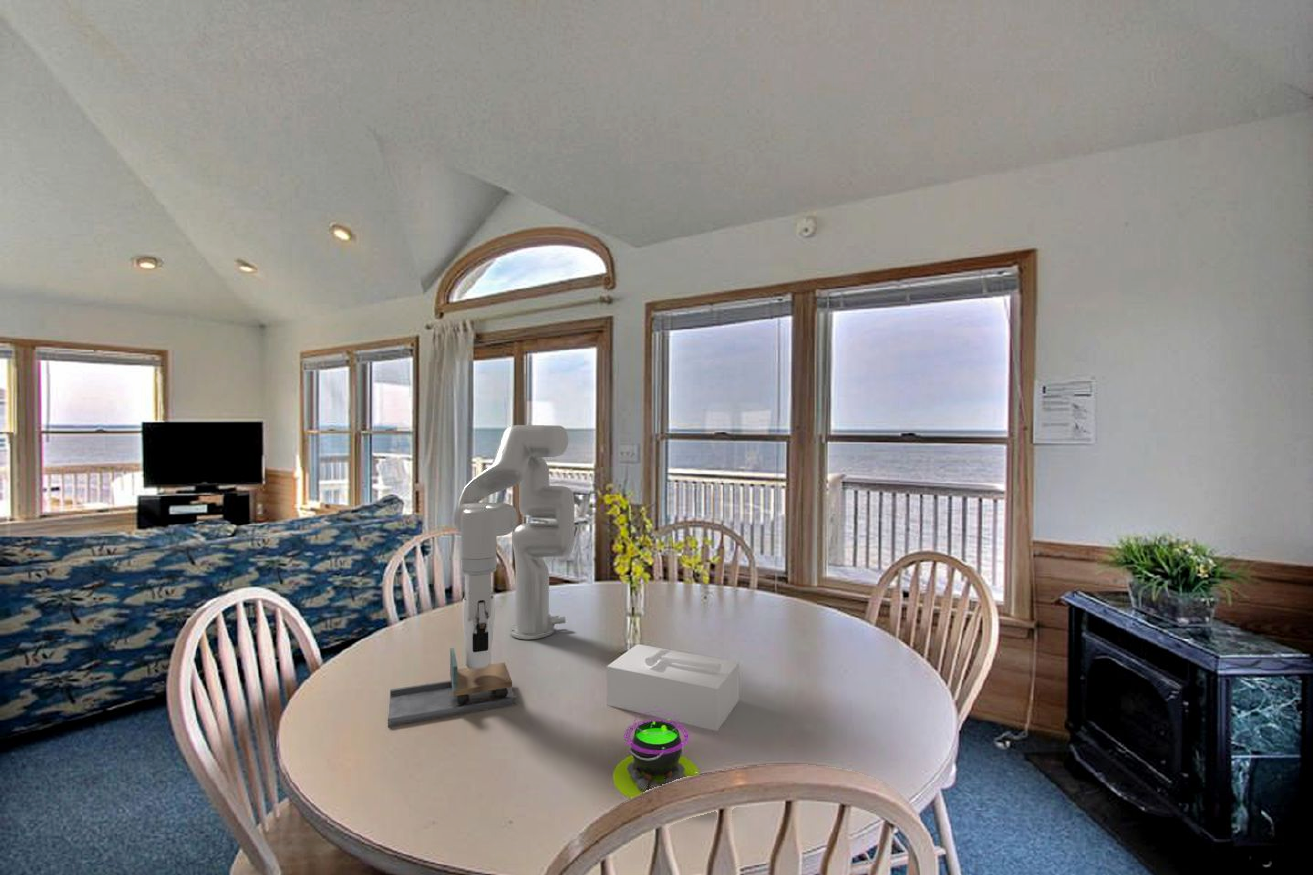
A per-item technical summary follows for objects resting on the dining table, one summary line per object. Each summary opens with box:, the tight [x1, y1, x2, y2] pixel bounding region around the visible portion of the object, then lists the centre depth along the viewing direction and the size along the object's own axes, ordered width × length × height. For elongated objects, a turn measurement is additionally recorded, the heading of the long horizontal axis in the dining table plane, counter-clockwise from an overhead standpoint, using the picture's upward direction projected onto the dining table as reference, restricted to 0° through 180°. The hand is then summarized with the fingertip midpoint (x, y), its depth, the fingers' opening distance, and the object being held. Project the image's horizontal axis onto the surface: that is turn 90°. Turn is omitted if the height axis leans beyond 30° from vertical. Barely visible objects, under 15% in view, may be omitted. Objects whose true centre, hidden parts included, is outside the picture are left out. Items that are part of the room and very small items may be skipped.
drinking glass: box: [461, 594, 496, 669], centre depth 129 cm, size 7×7×15 cm
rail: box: [387, 679, 517, 728], centre depth 127 cm, size 25×14×2 cm, turn 113°
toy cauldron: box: [612, 707, 701, 799], centre depth 100 cm, size 15×15×11 cm
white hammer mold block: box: [606, 643, 740, 732], centre depth 127 cm, size 14×25×11 cm, turn 65°
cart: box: [449, 647, 513, 705], centre depth 129 cm, size 12×11×9 cm
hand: (478, 644), depth 129 cm, fingers closed on drinking glass, 6 cm apart
